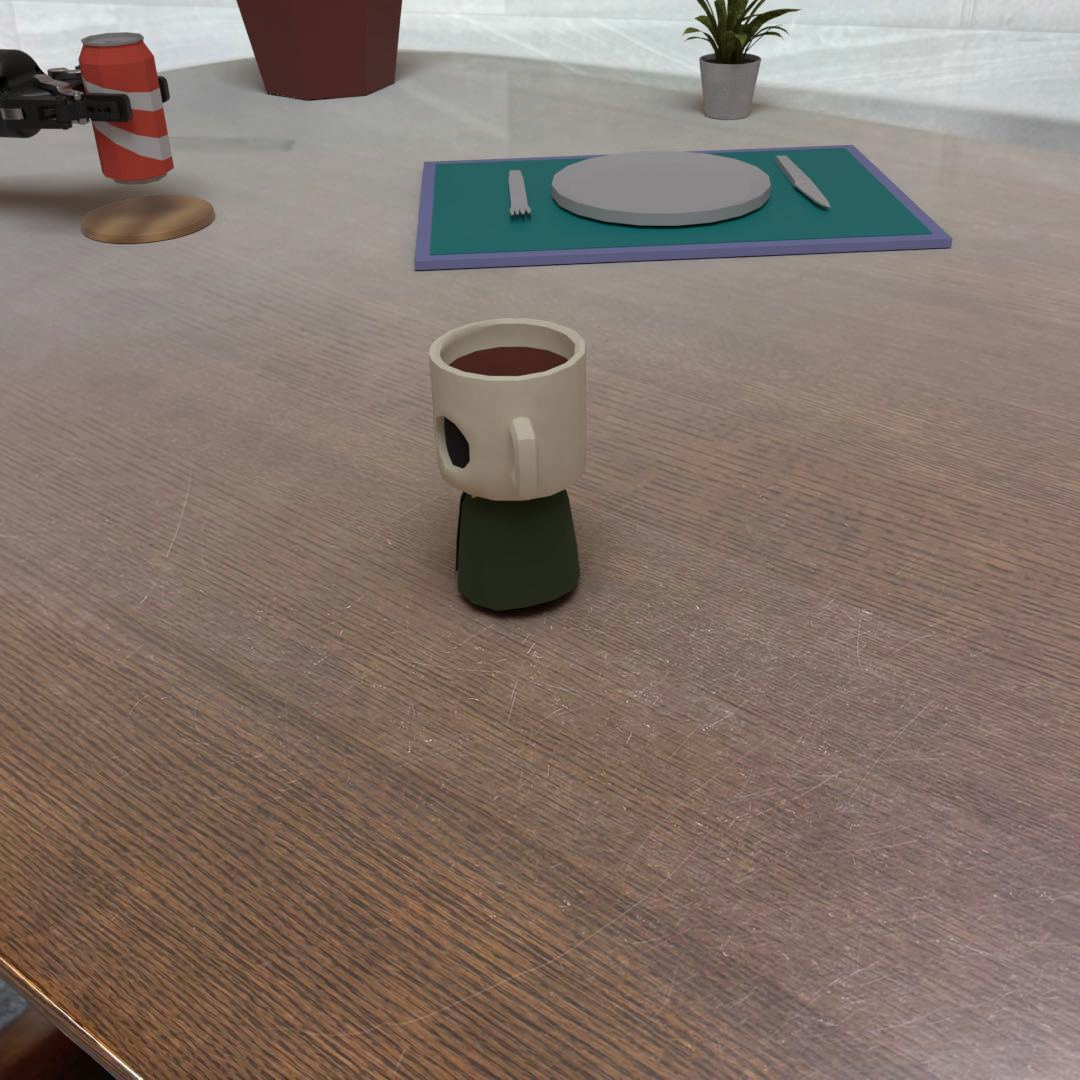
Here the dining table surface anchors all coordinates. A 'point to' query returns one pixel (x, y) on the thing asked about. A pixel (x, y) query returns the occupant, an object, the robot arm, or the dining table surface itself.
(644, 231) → the place mat
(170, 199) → the cork trivet
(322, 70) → the bucket
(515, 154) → the dining table surface
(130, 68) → the beverage can
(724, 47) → the house plant
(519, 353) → the character mug
